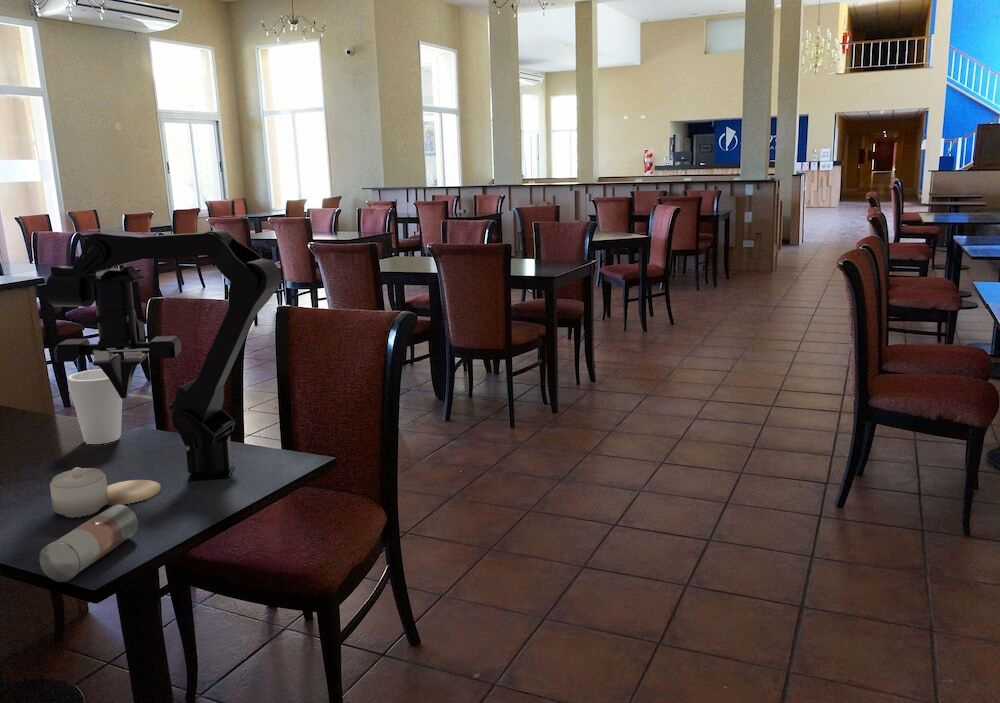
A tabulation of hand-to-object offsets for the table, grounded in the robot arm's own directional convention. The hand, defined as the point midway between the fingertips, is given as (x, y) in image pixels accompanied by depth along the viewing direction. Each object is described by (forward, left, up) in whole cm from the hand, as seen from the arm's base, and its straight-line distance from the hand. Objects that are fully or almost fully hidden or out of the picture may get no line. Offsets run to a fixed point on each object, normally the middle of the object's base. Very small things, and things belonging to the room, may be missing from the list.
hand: (124, 397), depth 137 cm
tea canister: (-6, +28, -11) cm, 30 cm away
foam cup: (+10, -18, -13) cm, 25 cm away
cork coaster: (-2, +11, -13) cm, 17 cm away
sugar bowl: (+3, +17, -13) cm, 22 cm away
